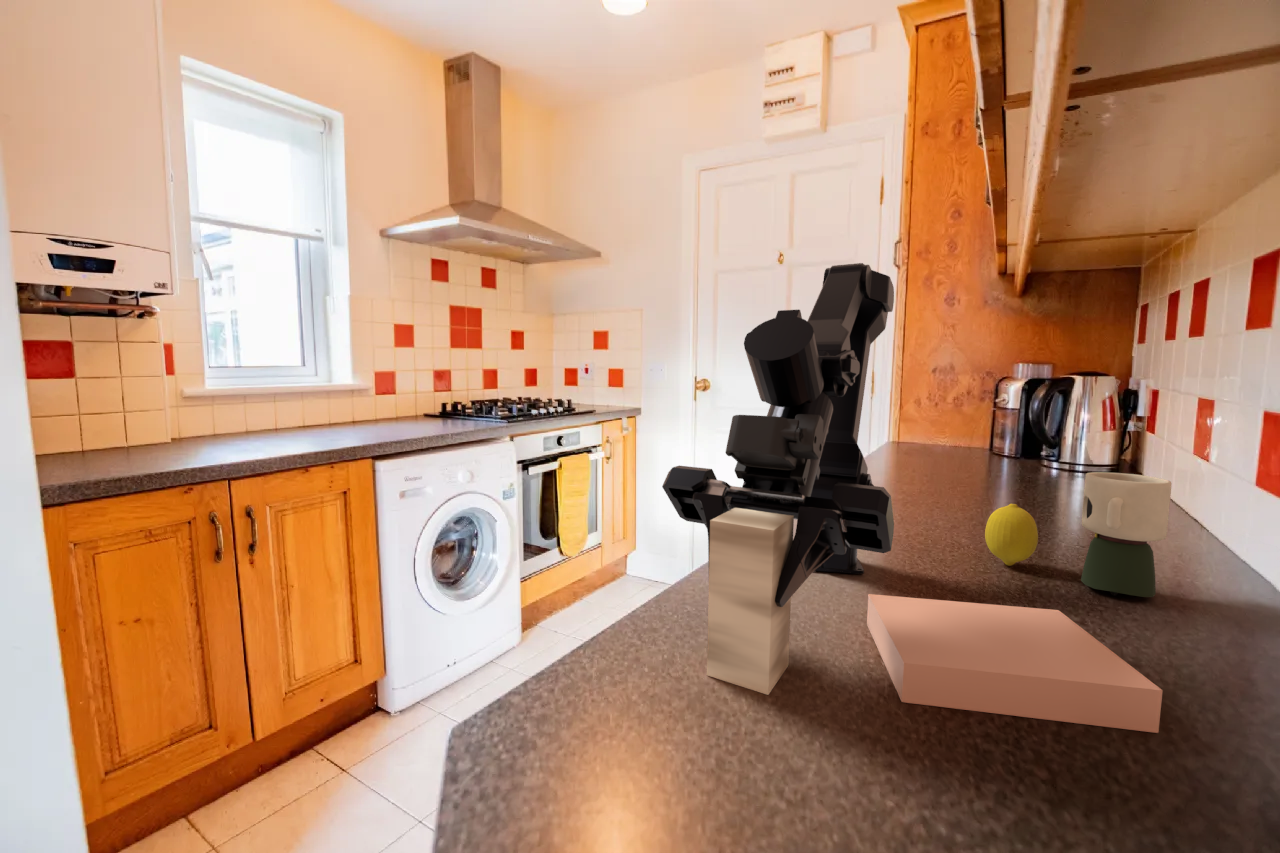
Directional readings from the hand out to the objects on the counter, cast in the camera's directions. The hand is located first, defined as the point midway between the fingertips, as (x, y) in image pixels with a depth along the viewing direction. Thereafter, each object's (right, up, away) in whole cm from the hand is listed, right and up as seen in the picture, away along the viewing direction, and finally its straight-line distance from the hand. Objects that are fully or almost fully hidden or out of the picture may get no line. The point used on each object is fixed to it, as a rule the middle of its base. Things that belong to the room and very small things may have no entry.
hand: (744, 596), depth 43 cm
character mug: (+45, -6, +19) cm, 49 cm away
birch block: (+1, -6, +2) cm, 7 cm away
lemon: (+39, -5, +27) cm, 48 cm away
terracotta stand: (+20, -7, +2) cm, 21 cm away
